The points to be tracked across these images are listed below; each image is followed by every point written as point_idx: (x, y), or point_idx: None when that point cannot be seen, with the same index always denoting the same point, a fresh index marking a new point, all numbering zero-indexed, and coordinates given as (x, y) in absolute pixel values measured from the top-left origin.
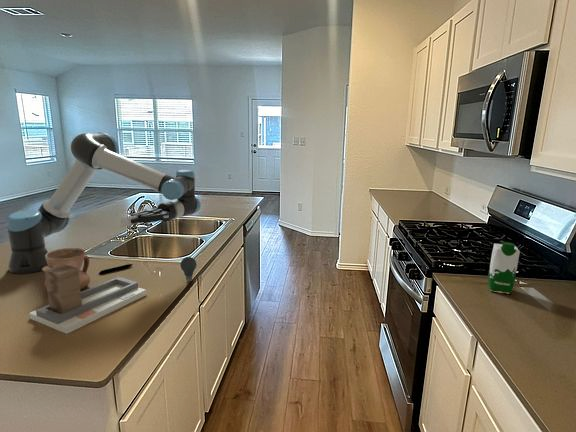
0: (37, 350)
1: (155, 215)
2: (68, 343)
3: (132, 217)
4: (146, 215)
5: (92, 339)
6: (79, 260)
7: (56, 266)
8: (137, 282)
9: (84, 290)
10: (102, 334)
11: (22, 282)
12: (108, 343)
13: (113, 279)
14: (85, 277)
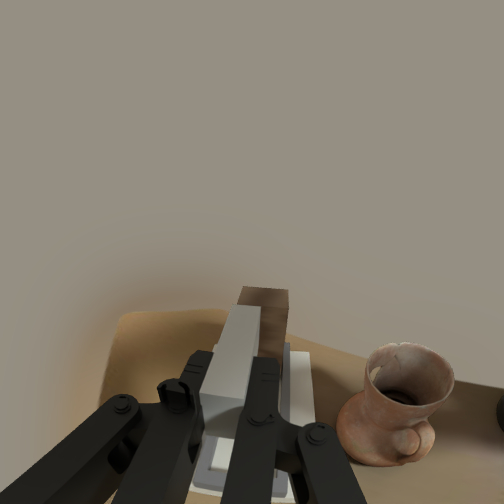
0: (220, 328)
1: (38, 461)
2: (195, 340)
3: (215, 353)
4: (134, 457)
5: (170, 350)
6: (368, 393)
7: (287, 300)
8: (193, 480)
9: (289, 407)
10: (163, 359)
11: (462, 398)
12: (143, 347)
13: (283, 474)
14: (356, 440)
